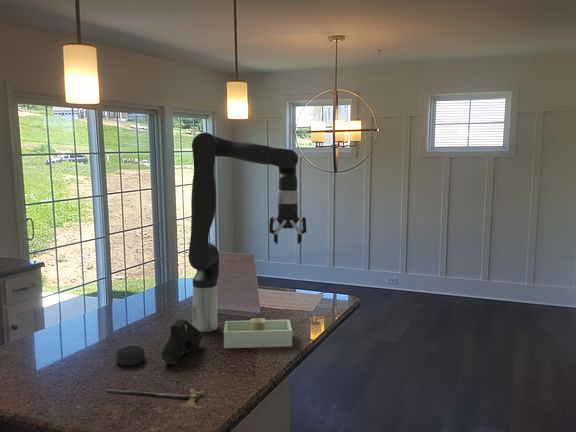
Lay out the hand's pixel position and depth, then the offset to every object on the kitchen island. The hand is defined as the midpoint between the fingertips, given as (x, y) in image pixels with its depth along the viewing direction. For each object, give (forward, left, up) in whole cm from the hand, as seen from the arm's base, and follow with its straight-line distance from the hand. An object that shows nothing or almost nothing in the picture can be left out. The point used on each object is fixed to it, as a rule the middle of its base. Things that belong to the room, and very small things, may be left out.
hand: (287, 243), depth 198 cm
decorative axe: (-41, -54, -34) cm, 76 cm away
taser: (-37, -26, -34) cm, 57 cm away
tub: (-12, -15, -33) cm, 38 cm away
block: (-12, -15, -32) cm, 38 cm away
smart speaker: (-54, -30, -34) cm, 70 cm away
